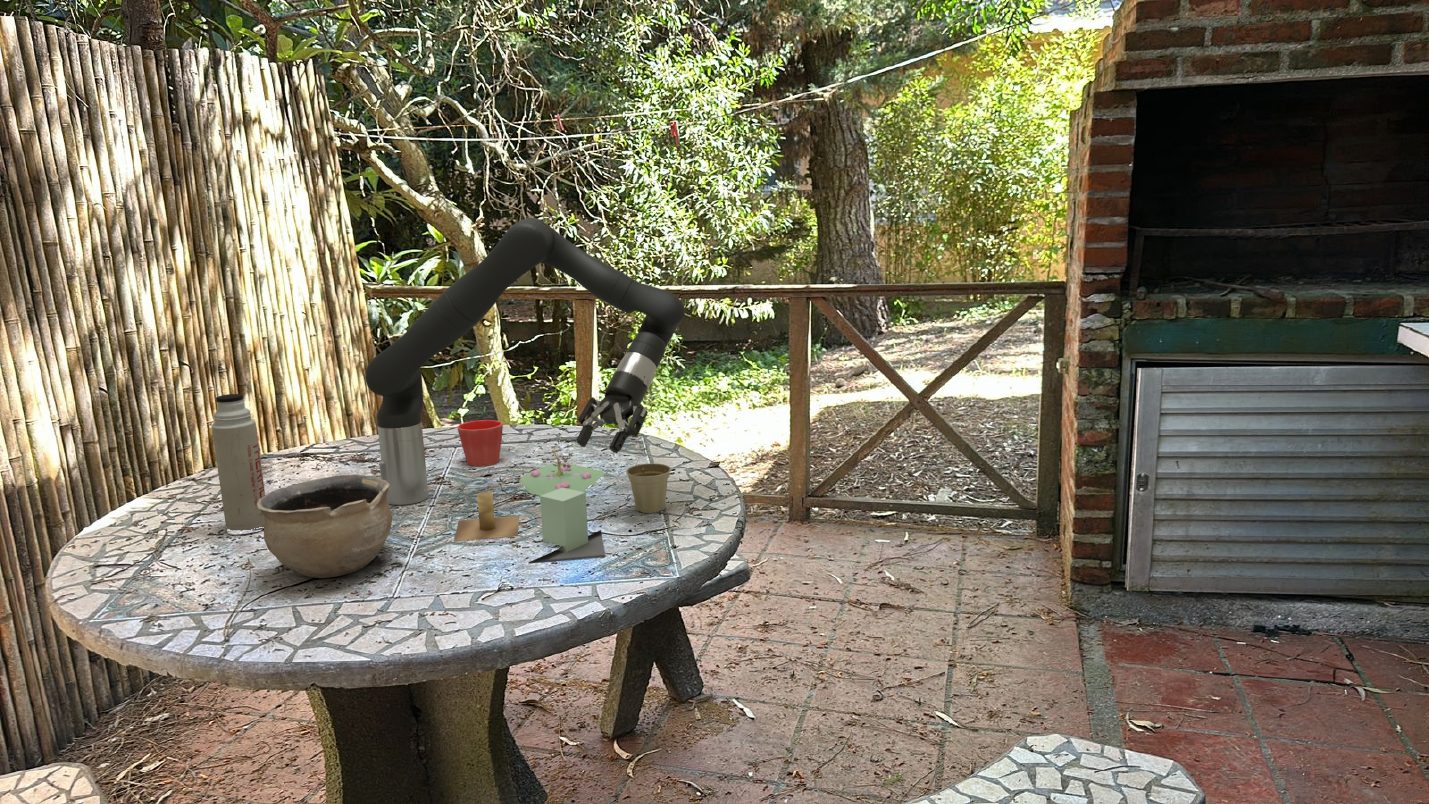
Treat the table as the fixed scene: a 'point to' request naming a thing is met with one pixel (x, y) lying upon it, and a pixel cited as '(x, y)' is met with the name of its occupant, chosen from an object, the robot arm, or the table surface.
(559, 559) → the mat
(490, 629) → the table surface
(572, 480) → the plant
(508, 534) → the peg stand
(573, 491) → the sage green tall block
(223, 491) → the thermos bottle
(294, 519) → the ceramic bowl
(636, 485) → the flower pot
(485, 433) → the flower pot
